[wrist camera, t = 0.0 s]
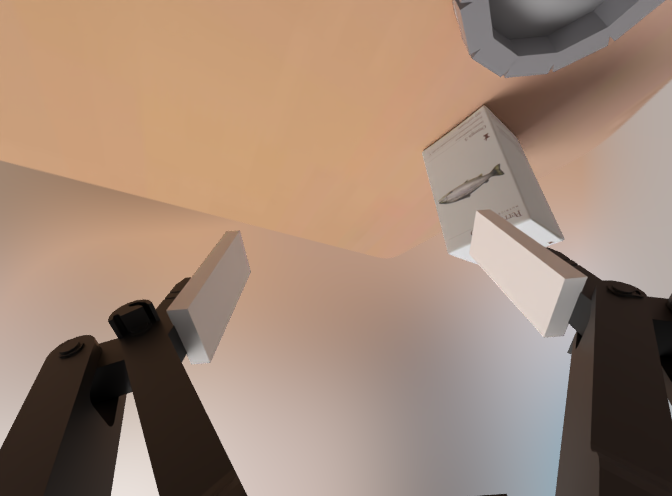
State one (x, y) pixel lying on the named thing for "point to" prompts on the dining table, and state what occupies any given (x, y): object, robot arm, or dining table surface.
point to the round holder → (542, 31)
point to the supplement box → (485, 183)
